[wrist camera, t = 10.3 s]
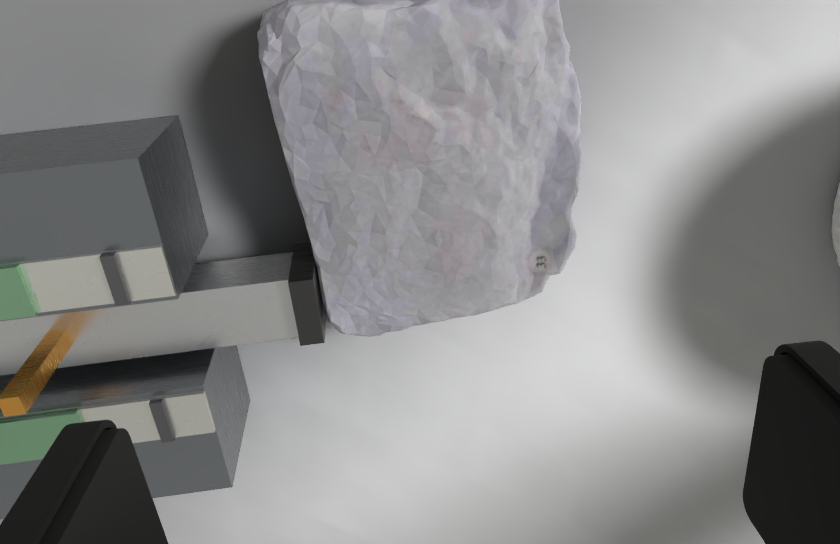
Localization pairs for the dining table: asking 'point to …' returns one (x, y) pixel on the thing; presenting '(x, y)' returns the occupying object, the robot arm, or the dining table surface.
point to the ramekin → (836, 225)
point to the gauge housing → (114, 299)
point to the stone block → (426, 151)
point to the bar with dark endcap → (170, 322)
